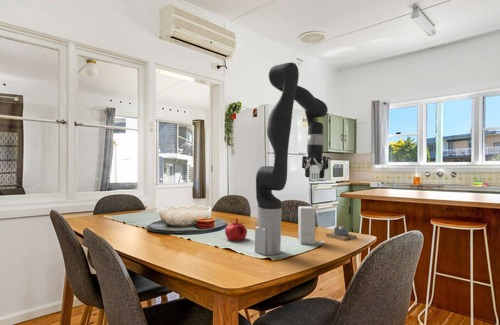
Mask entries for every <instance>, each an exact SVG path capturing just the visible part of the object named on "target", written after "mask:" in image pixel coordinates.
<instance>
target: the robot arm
mask: <svg viewBox="0 0 500 325" xmlns="http://www.w3.org/2000/svg"><path fill="white" fill-rule="evenodd" d="M299 73H300V72H299V67H298V66H297V64H296V63H295V62H285V63H280V64H276V65H274V66H272V67H271V68H270V69H269V71H268V80H269V82H270V85H272V87H274V88H275V89H276V90H278V91H280V92H281V96H280V97H279V98H278V101H277V102H276V104H274V106H273V108H272V109H271V111H270V113H269V116H268V120H267V127H266V134H267V138H268V140H269V143H270V145H271V147H272V150H273V153H274V158H273V159H274V160H273V166H269V165H267V166H266V165H263V166H260V167H259V168H258V169H257V171H256V174H255V195H256V196H255V198H256V201H257V219H256V220H257V224H256V225H257V226H255V227H254V228H255V229H254V252H255V253H258V254H261V255H263V256H269V255H270V256H271V255H272V256H273V255H278V254H280V253H281V247H282V246H281V245H282V244H281V243H282V242H281V240H282V238H281V237H282V235H281V234H282V204H283V203H282V200H280V199H279V198H278V197H276V196H275V195H274V194H273V191H277V192H278V191H282V190H284V188H285V186H286V185H287V184H286V183H287V180H288V154H289V144H290V136H291V129H292V122H293V121H292V119H293V109H294V104H295V102H297V104H298V105H299V106H300V107H302V108H303V109H304V113H305V117H306V123H307V129H308V130H307V148H306V154H307V156H304V155H302V160H301V161H302V162H301V168H302V169H304V176H305V178H310V177H311V176H310V175H311V170H310V169H311V168H312V167H313V166H317V168H319V179H324V177H325V170H329V156H327V155H326V156H325V155H323V154H324V124H323V123H322V122H318V121H316V120H315V119H316V118H317V119H318V118H323V117H326V115H327V114H328V110H329V109H328V106H327V104H326V102H324V101H323V100H321V99H319V98H317V97H315V95H313V94H312V93H311V92H310V91H309V90H308V89H306V88H305V87H303V86H301V85H298V84H299V79H300V78H299V76H300V74H299Z"/></svg>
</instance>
